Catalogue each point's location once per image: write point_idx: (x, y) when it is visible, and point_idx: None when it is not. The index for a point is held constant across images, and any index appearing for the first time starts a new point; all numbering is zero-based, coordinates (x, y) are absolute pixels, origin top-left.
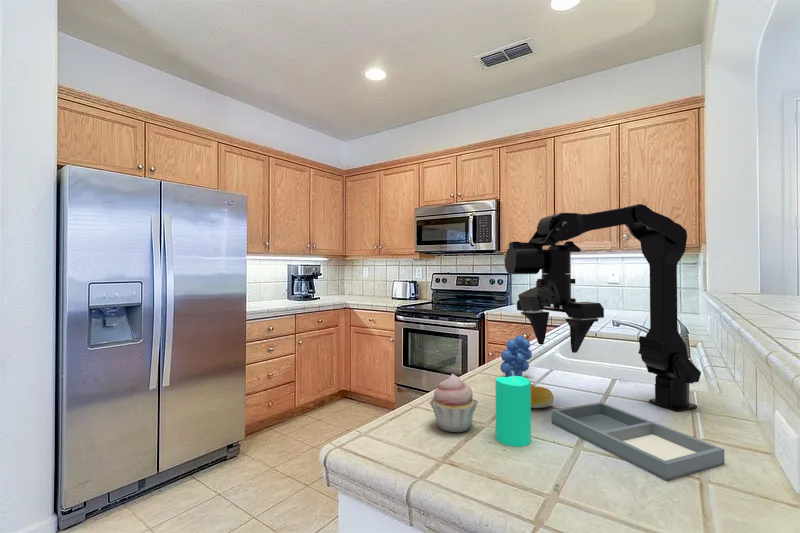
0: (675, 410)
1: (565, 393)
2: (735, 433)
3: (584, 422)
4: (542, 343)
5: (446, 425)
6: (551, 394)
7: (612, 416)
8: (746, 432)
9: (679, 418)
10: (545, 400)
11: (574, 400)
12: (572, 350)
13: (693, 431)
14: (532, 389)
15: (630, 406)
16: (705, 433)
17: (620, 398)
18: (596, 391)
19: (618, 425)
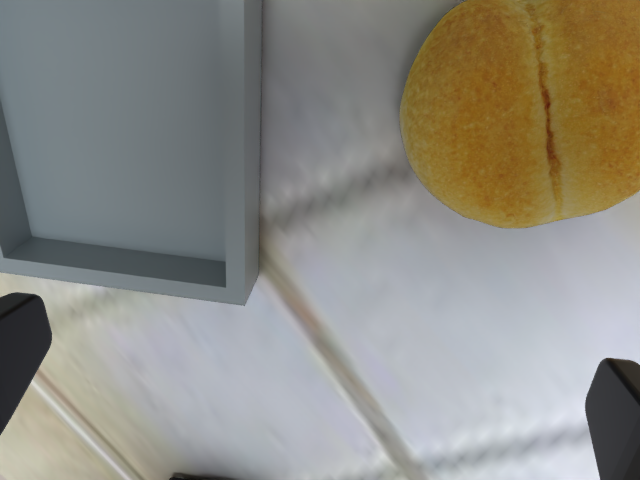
0: (174, 478)
1: (524, 368)
2: (13, 442)
3: (181, 108)
4: (592, 400)
5: None
6: (421, 171)
7: (180, 260)
8: (15, 465)
9: (137, 438)
10: (407, 94)
11: (434, 325)
12: (7, 300)
13: (44, 377)
14: (511, 81)
15: (275, 425)
16: None
17: (352, 469)
18: (457, 475)
19: (115, 210)
